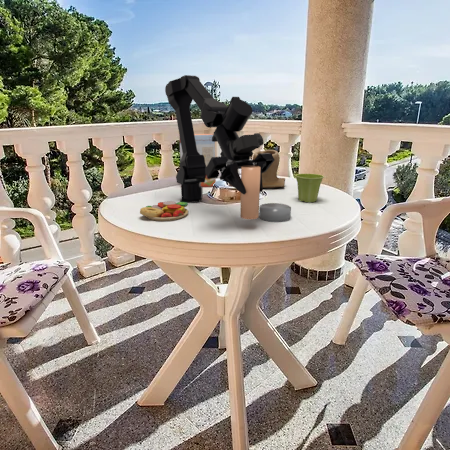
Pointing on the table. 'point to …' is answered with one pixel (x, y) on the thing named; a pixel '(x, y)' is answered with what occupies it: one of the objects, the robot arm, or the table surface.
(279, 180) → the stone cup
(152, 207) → the toy food set
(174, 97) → the robot arm
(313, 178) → the plant pot
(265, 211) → the coaster
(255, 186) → the candle
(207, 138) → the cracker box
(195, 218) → the table surface
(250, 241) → the table surface
